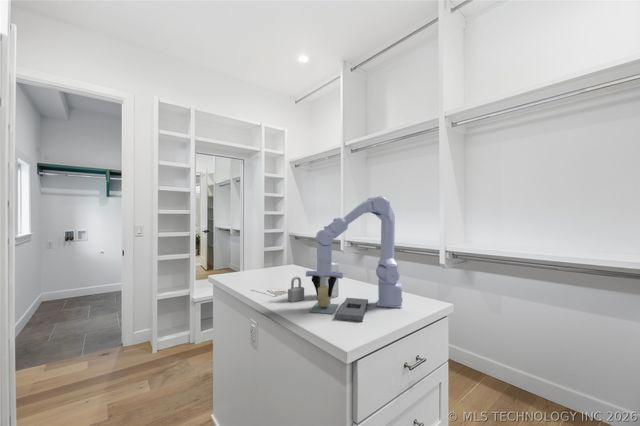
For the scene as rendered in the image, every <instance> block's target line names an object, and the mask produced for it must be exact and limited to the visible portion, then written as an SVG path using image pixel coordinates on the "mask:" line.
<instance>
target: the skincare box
mask: <svg viewBox="0 0 640 426" xmlns="http://www.w3.org/2000/svg"><path fill="white" fill-rule="evenodd" d="M332 272H339V263H337V262H332ZM328 279H329V277H321V279H320V285H325V286H329V285H328ZM316 296H317V295H316ZM336 297H339V278H337V280H336V282H335V284H334V287H333V290H332V296H331V297H330V299H331V298H336ZM316 298H318V296H317V297H316Z"/></svg>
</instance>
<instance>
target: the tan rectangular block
mask: <svg viewBox="0 0 640 426" xmlns="http://www.w3.org/2000/svg"><path fill="white" fill-rule="evenodd" d="M328 293H329V286H325V285H320V286H319V287H318V297H317V303H318V306H324V307H328V306H329V305H330V304H331V298H330V297H329V294H328Z"/></svg>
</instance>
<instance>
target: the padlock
mask: <svg viewBox="0 0 640 426" xmlns="http://www.w3.org/2000/svg"><path fill="white" fill-rule="evenodd" d="M296 280H298V286H296V287H295V281H296ZM290 284H291V286H290V288H288V289H287V291H288V293H287V301H288V302H290V303H293V302H294V303H295V302H298V301H301V300H304V299H305V287H303V286H302V279H301V277H299V276H294V277H293V278H292V279H291V282H290Z"/></svg>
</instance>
